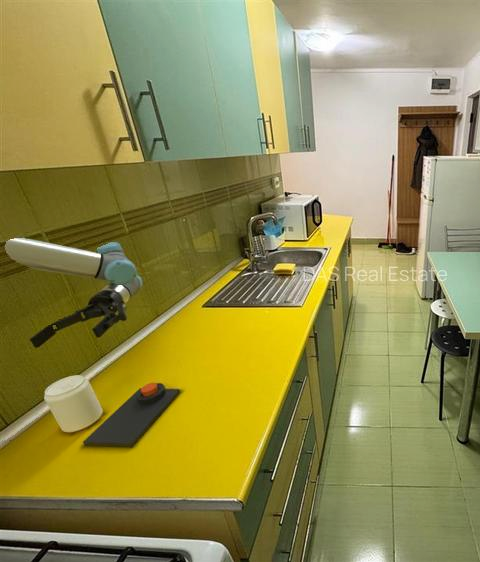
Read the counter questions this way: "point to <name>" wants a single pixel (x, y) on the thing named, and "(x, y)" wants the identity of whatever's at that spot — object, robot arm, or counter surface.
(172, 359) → the counter surface
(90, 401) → the beverage can
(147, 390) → the button
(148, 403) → the warming base
